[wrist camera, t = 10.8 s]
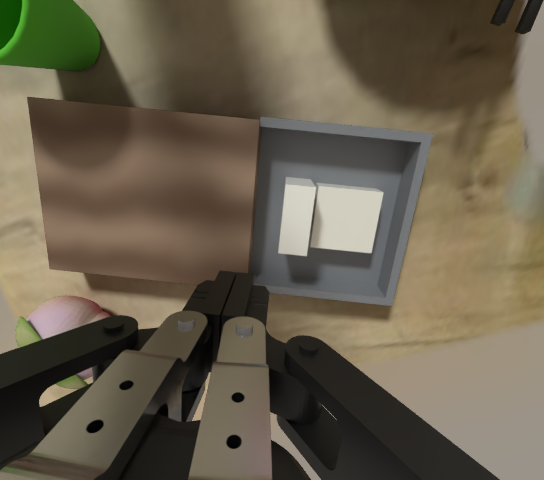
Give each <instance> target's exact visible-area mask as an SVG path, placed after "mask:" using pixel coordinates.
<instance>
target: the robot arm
mask: <svg viewBox="0 0 544 480" xmlns="http://www.w3.org/2000/svg"><path fill="white" fill-rule="evenodd" d="M268 301H269V291H268V290H267V288H266V287H265V286H260V285H254V274H251V273H242V272H238V273H237V272H232V271H222V270H220V271H219V273H218V275H217V277H216V279H215V281H212V280H205V281H204V282H202V283H200V284H199V285H198V286H197V287H196V289H195V291H194V292H193V294H192V296H191V297H190V299H189V300H188V302H187V304H186V305H185V307H184V309H183V310H182V311H180V312H176V313H174V314H171V315H170V316H168V317H167V318H166V319H165V321H164V322H163V323H162V324H161V325H160V327H158V328H150V329H139V330H138V322H137V321H136V320H135V319H134V318H132V317H129V316H122V315H119V316H111V317H107V318H103V319H100V320H98V321H95V322H92V323H89V324H86V325H83V326H80V327H77V328H74V329H72V330H69V331H66V332H63V333H60V334H57V335H54V336H51V337H48V338H46V339H43V340H40V341H37V342H34V343H31V344H28V345H25V346H23V347H20V348H17V349H14V350H11V351H8V352H5V353H2V354H0V480H311V479H310V478H309V476H308V475H307V474H306V472H305V471H304V470H303V468H302V467H301V465H300V464H299V463H298V461H297V460H296V459H295V458H294V457H293V456H292V455H291V454H290V453H289V452H288V451H287V450H286V449H284V448H283V447H282V446H280V445H279V444H277V443H276V442H274V441H272V440H271V430H270V429H271V428H270V412H271V413H274V414H277V421H278V424H279V426H280V427H281V429H282V430H283V431H284V433H285V434H286V435H287V436H288V438H289V439H290V440H291V442H292V443H293V444H294V445H295V447H296V448H297V449H298V450H299V452H300V453H301V454H302V456H303V457H304V458H305V459H306V461H307V462H308V463H309V464H310V466H311V467H312V468H313V470H314V471H315V472H316V473H317V475H318V476H319V477H320V478H321V480H499V479H498V478H497V477H496V476H494V475H493V474H492V473H491V472H489V471H488V470H487V469H485V468H484V467H483V466H481V465H480V464H479V463H478V462H476V461H475V460H474V459H473V458H471V457H470V456H469V455H468V454H466V453H465V452H464V451H462V450H461V449H460V448H458V447H457V446H456V445H455V444H453V443H452V442H451V441H450V440H448V439H447V438H446V437H445V436H443V435H442V434H440V433H439V432H438V431H437V430H436V429H434V428H433V427H432V426H430V425H429V424H428V423H426V422H425V421H424V420H423V419H421V418H420V417H419V416H418V415H416V414H415V413H414V412H413V411H411V410H410V409H409V408H407V407H406V406H405V405H404V404H402V403H401V402H400V401H398V400H397V399H396V398H395V397H393V396H392V395H391V394H390V393H388V392H387V391H386V390H384V389H383V388H382V387H381V386H379V385H378V384H376V383H375V382H374V381H373V380H372V379H370V378H369V377H368V376H366V375H365V374H364V373H363V372H361V371H360V370H359V369H358V368H356V367H355V366H354V365H352V364H351V363H350V362H349V361H347V360H346V359H345V358H343V357H342V356H341V355H340V354H338V353H337V352H336V351H335V350H333V349H332V348H331V347H329V346H328V345H327V344H326V343H324V342H323V341H321V340H319V339H317V338H315V337H311V336H296V337H293V338H291V339H290V340H289V341H288V342H287V343H283V342H281V341H278V340H276V339H274V338H273V337H271V336H270V335H269V333H268V332H267V330H266V320H267V310H268ZM89 368H92V373H93V383H91V384H89V385H87V386H85V387H83V388H80V389H78V390H76V391H74V392H72V393H70V394H68V395H66V396H64V397H62V398H60V399H58V400H56V401H53V402H51V403H49V404H47V405H45V406H43V407H40V406H39V399H40V396H41V395H42V393H43V392H44V391H45V390H46V389H47V388H49V387H50V386H52V385H54V384H56V383H58V382H60V381H62V380H65V379H67V378H69V377H71V376H74V375H76V374H78V373H80V372H83V371H85V370H87V369H89ZM209 372H211V375H210V380H209V384H208V389H207V394H206V398H205V403H204V408H203V412H202V418H201V420H197V421H192V419H193V417H194V414H195V412H196V410H197V407H198V405H199V403H200V400H201V398H202V395H203V393H204V391H205V381H206V379H207V376H208V373H209ZM322 405H323V406H324V407H325V408H326V409H327V410H328V411H329V412H330V413H331V414H332V415H333V416H334V417H335V418H336V419H337V420H336V419H335V418H334V417H333V416H332V415H331V414H330V413H329V412H328V411H327V410H326V409H325V408H324V407H323V406H322Z"/></svg>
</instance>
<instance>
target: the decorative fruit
mask: <svg viewBox="0 0 544 480" xmlns="http://www.w3.org/2000/svg"><path fill="white" fill-rule="evenodd" d="M107 317H111V316H110V315H109V314H108V313H106V312H104V311H102V310H101V308H100V306H99V305H98V304H97V303H95V302H93V301H91V300H88V299H85V298H82V297H77V296H58V297H54V298H52V299H49V300H47V301H46V302H44V303H43V304H41V305H40V306H39V307H38V308H37V309H36V310H34V311H33V312H32V313H31V315H30V316H29V317H28V318H27V320H25V319H24V318H23V317H21V316H20V317H19V320H18V322H17V326H16V341H17V345H18V348H20V347H23V346H25V345H28V344H31V343H34V342H37V341H40V340H43V339H46V338H48V337H51V336H54V335H57V334H60V333H63V332H66V331H69V330H72V329H74V328H77V327H80V326H83V325H86V324H89V323H92V322H95V321H98V320H100V319H103V318H107ZM91 376H93V373H92V368H89V369H87V370H85V371H83V372H80V373H78V374H76V375H74V376H71V377H69V378H67V379H65V380H62V381H60V382H58V383H56V385H58V386H60V387H63V388H69V389H80V388H83V387H85V386H87V385H88V384H87V383H86V382H85V381H83V380H85V379H87V378H90V377H91Z"/></svg>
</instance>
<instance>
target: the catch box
mask: <svg viewBox="0 0 544 480" xmlns="http://www.w3.org/2000/svg"><path fill="white" fill-rule="evenodd" d="M260 127H261V128H262V136H261V148H260V161H259V173H258V186H257V198H256V211H255V223H254V235H253V248H252V260H251V272H250V273H251V274H254V285H260V286H265V287H266V288H267V290H268V291H269V293H274V294H284V295H293V296H302V297H312V298H321V299H331V300H340V301H349V302H359V303H368V304H377V305H387V306H392V303H393V299H394V295H395V291H396V287H397V283H398V278H399V274H400V270H401V266H402V262H403V257H404V253H405V249H406V245H407V241H408V236H409V232H410V228H411V224H412V220H413V215H414V211H415V207H416V203H417V199H418V194H419V190H420V186H421V182H422V178H423V173H424V169H425V165H426V161H427V157H428V152H429V148H430V144H431V140H432V136H433V133H423V132H413V131H403V130H392V129H382V128H372V127H362V126H352V125H342V124H332V123H321V122H311V121H301V120H291V119H281V118H271V117H261V116H260ZM286 177H293V178H303V179H311V181H312V182H313V183H314V185H315V186H316V183H324V184H334V185H345V186H355V187H365V188H375V189H378V190H380V191H382V192H384V193H383V198H382V203H381V208H380V213H379V218H378V223H377V228H376V233H375V238H374V243H373V248H372V253H363V252H353V251H343V250H333V249H324V248H314V247H310V244H309V243H308V250H307V256H300V255H290V254H281V253H278V249H279V236H280V226H281V216H282V207H283V198H284V188H285V179H286Z"/></svg>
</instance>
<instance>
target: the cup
mask: <svg viewBox="0 0 544 480" xmlns="http://www.w3.org/2000/svg"><path fill="white" fill-rule="evenodd" d="M99 53H100V37H99V34H98V31H97V28H96V26H95V24H94V22H93V21H92V19H91V18H90V17H89V16H88V15H87V14H86V13H85V12H84V11H83V10H82V9H81V8H80V7H79V6H78V5H77V4H76V3H75V2H74V1H73V0H0V65H11V66H22V67H34V68H45V69H57V70H68V71H81V70H85V69H87V68H89V67H90V66H92V65H93V64H94V63H95V62H96V60H97V58H98V56H99Z"/></svg>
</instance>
